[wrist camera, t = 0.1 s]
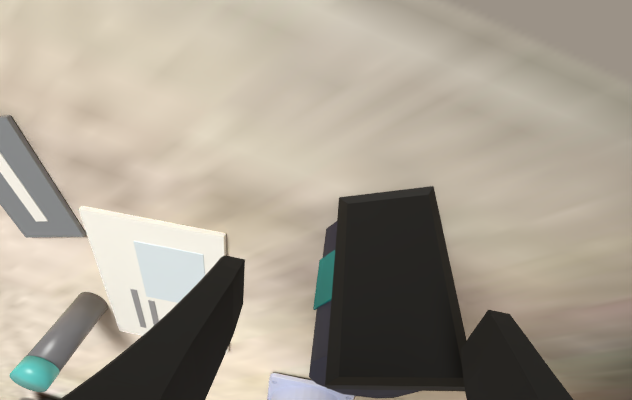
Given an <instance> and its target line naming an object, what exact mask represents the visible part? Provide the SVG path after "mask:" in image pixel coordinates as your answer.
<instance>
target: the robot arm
mask: <svg viewBox="0 0 632 400" xmlns="http://www.w3.org/2000/svg"><path fill="white" fill-rule="evenodd" d="M244 264H245V260H244V259H239V258H235V257H230V256H225V255H224V256H223V257H221V258H220V259H219V260H218V261H217V263H216V264H215V265H214V266H213V267H212V268H211V269H210V271H209V272H208V273H207V274H206V275H205V276H204V277H203V278H202V279H201V280H200V281H199V282H198V284H197V285H196V286H195V287H194V288H193V289H192V290H191V291H190V292H189V293H188V294H187V295H186V296H185V297H184V298H183V299H182V300H181V301H180V302H179V303H178V304H177V305H176V306H175V307H174V308H173V309H172V310H171V311H170V312H168V313H167V314H166V315H165V316H164V317H163V318H162V319H161V320H160V321H159V322H157V323H156V324H155V325H154V326H153V327H152V328H151V329H150V330H149V331H147V332H146V333H145V334H144V335H143V336H142V337H141V338H140V339H138V340H137V341H136V342H135V343H134V344H132V345H131V346H130V347H129V348H128V349H126V350H125V351H124V352H123V353H122V354H120V355H119V356H118V357H117V358H115V359H114V360H113V361H111V362H110V363H109V364H108V365H106V366H105V367H104V368H103V369H101V370H100V371H99V372H97V373H96V374H95V375H93V376H92V377H90V378H89V379H88V380H86V381H85V382H84V383H82V384H81V385H80V386H78V387H77V388H75V389H74V390H73V391H71V392H70V393H69V394H67V395H66V396H64V397H63V398H61V399H60V400H205V399H206V396H207V394H208V392H209V389H210V387H211V385H212V383H213V380H214V378H215V376H216V373H217V371H218V369H219V367H220V364H221V362H222V360H223V357H224V355H225V353H226V351H227V348H228V346H229V344H230V341H231V339H232V337H233V334H234V331H235V328H236V324H237V321H238V318H239V315H240V312H241V309H242V305H243V292H244ZM461 358H462V370H463V380H464V387H465V393H466V397H467V400H573V398H572V397H571V396H570V395H569V393H568V392H567V391H566V389H565V388H564V387H563V385H562V384H561V383H560V382H559V380H558V379H557V378H556V376H555V375H554V374H553V372H552V371H551V370H550V368H549V367H548V365H547V364H546V363H545V361H544V360H543V359H542V357H541V356H540V355H539V353H538V352H537V351H536V349H535V348H534V346H533V345H532V344H531V342H530V341H529V340H528V338H527V337H526V335H525V334H524V333H523V331H522V330H521V329H520V327H519V326H518V325H517V323H516V322H515V321H514V319H513V318H512V317H511V315H510V314H506V313H502V312H497V311H492V310H488V311H487V312H486V314H485V315H484V317H483V318H482V320H481V321H480V322H479V324H478V325H477V327H476V328H475V330H474V331H473V332H472V334H471V335H470V337H469V338H468V340H467V341H466V342H465V344H464V345H463V347H462V348H461ZM354 397H355V396H354V395H345V394H341V393H339V392H336V391H333V390H331V389H327V388H326V387H323V386H321V385H318V384H316V383H315V382H314V381H312V380H307V379H302V378H297V377H293V376H288V375H283V374H278V373H272V374H271V375H270V378H269V388H268V398H267V400H353V399H354Z"/></svg>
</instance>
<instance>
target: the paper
mask: <svg viewBox="0 0 632 400" xmlns="http://www.w3.org/2000/svg"><path fill="white" fill-rule="evenodd" d="M78 210H79V213H80V216H81V219H82V222H83V225H84V228H85V231H86V233H87V236H88V239H89V242H90V245H91V248H92V251H93V254H94V257H95V260H96V263H97V266H98V269H99V272H100V275H101V278H102V281H103V284H104V287H105V290H106V293H107V296H108V299H109V301H110V304H111V307H112V310H113V313H114V316H115V319H116V322H117V325H118V328H119V331H121V332H126V333H131V334H136V335H141V336H143V335H144V334H145V333H146V332H147V331H149V330H150V329H151V328H152V327H153V326H154V325H155V324H156V323H157V322H159V321H160V320H161V319H162V318H163V317H164V316H165V315H166V314H167V313H168V312H170V311H171V310H172V309H173V308H174V307H175V306H176V305H177V304H178V303H179V302H180V301H181V300H182V299H183V298H184V297H185V296H186V295H187V294H188V293H189V292H190V291H191V290H192V289H193V288H194V287H195V286H196V285H197V284H198V282H199V281H200V280H201V279H202V278H203V277H204V276H205V275H206V274H207V273H208V272H209V271H210V269H211V268H212V267H213V266H214V265H215V264H216V263H217V261H218V260H219V259H220V258H221V257H223V256H224V255H225V256H226V233H222V232H217V231H212V230H206V229H201V228H196V227H191V226H186V225H180V224H175V223H170V222H165V221H160V220H155V219H149V218H144V217H139V216H134V215H129V214H123V213H118V212H113V211H108V210H103V209H97V208H92V207H87V206H81V207H80V208H79V209H78ZM228 351H229V346H228V348H227V351H226V353H228Z"/></svg>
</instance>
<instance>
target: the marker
mask: <svg viewBox="0 0 632 400" xmlns="http://www.w3.org/2000/svg"><path fill="white" fill-rule="evenodd" d="M106 309H107V303H106V302H105V301H104V300H103V299H102V298H101V297H99V296H97V295H95V294H93V293H89V292H83V293H81V294H80V295H79V296H78V297H77V298H76V299H75V300H74V302H73V303H72V304H71V305H70V306H69V307H68V308H67V310H66V311H65V312H64V313H63V314H62V315H61V317H60V318H59V319H58V320H57V321H56V322H55V324H54V325H53V326H52V327H51V328H50V329H49V331H48V332H47V333H46V334H45V335H44V336H43V337H42V339H41V340H40V341H39V342H38V343H37V344H36V346H35V347H34V348H33V349H32V350H31V351H30V353H29V354H28V355H27V356H26V357H24V358H23V360H22V361H21V362H20V363H19V364H18V365H17V366H16V368H15V369H14V370H13V371H12V372H11V373H10V378H11V379H12V380H13V381H14V382H15V383H17V384H18V385H20V386H22V387H24V388H26V389H29V390H32V391H37V392H45V391H46V390H47V389H48V388H49V387H50V385H51V384H52V383H53V381H54V380H55V379H56V377H57V376H58V375H59V373H60V371H61V369H62V368H63V367H64V365H65V364H66V363H67V361H68V360H69V359H70V357H71V356H72V355H73V353H74V352H75V351H76V349H77V348H78V347H79V345H80V344H81V343H82V341H83V340H84V339H85V337H86V336H87V335H88V333H89V332H90V331H91V329H92V328H93V327H94V325H95V324H96V323H97V321H98V320H99V319H100V317H101V316H102V315H103V313H104V312H105V311H106Z"/></svg>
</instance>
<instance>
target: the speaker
mask: <svg viewBox="0 0 632 400" xmlns="http://www.w3.org/2000/svg"><path fill="white" fill-rule="evenodd" d="M313 309H314V310H316V309H317V313H316V321H315V330H314V338H313V347H312V356H311V364H310V373H309V377H310V378H311V379H312V380H313V381H314V382H315V383H316V384H318V385H321V386H323V387H326V388H327V389H331V390H333V391H336V392H339V393H341V394H345V395H354V396H362V397H371V398H395V397H399V396H403V395H406V394H410V393H414V392H418V391H422V390H426V391H465V387H464V380H463V370H462V358H461V348H462V347H463V345H464V344H465V342H466V336H465V332H464V327H463V322H462V318H461V313H460V308H459V304H458V299H457V294H456V290H455V285H454V280H453V276H452V271H451V266H450V262H449V257H448V252H447V248H446V243H445V238H444V234H443V229H442V224H441V220H440V215H439V210H438V206H437V201H436V196H435V192H434V187H433V186H432V187H424V188H415V189H407V190H399V191H390V192H382V193H374V194H365V195H357V196H348V197H340V198H339V207H338V220H337V222H335V223H334V224H333V225H331V226H330V227H328V228H327V229H326V236H325V244H324V252H323V258H322V259H321V260H320V262H319V270H318V277H317V285H316V293H315V301H314V308H313Z"/></svg>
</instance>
